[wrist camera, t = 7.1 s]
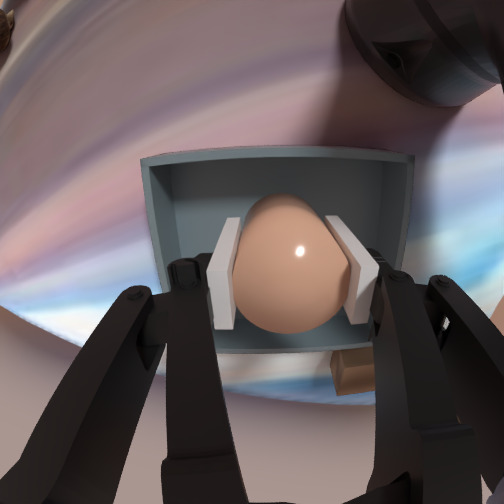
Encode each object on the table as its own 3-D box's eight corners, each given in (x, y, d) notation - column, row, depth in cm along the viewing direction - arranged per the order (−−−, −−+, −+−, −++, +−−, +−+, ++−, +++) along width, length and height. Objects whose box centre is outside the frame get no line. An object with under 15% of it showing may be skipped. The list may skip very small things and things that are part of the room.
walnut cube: (335, 336, 29) (345, 367, 24) (375, 332, 29) (389, 361, 24) (329, 365, 31) (336, 395, 26) (366, 360, 31) (377, 389, 26)
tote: (164, 153, 21) (140, 159, 17) (386, 150, 20) (414, 155, 16) (189, 319, 28) (178, 351, 24) (366, 314, 27) (380, 345, 23)
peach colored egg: (241, 193, 17) (227, 229, 10) (321, 193, 16) (357, 229, 10) (244, 266, 19) (235, 334, 12) (317, 265, 18) (341, 331, 12)
